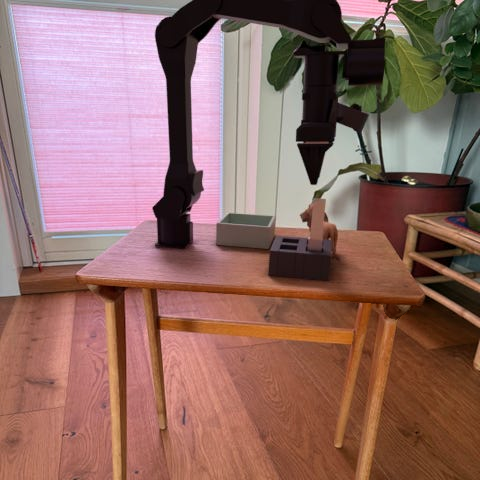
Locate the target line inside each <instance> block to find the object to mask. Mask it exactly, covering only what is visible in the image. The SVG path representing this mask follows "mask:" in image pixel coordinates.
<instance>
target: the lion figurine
mask: <svg viewBox="0 0 480 480" xmlns="http://www.w3.org/2000/svg"><path fill="white" fill-rule="evenodd" d="M312 211H313V203H309V204H308V207H307V208H306V209H305V210H304V211H303V212H301V213H300V214H299V217H300V219H301V222H302V223H306V226H307V227H308V229H309V232H310V231H311V221H312ZM322 237H323V239H326V240H332V258H334V259H335V261H337V262H341V258H340V257H339V256H338V254H337V244H338V238H339V231H338V228H337V225H336V224H335V223H332V222H329V217H328V214H327V213H326V212H325V214H324V222H323V231H322Z"/></svg>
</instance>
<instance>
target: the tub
mask: <svg viewBox="0 0 480 480" xmlns="http://www.w3.org/2000/svg"><path fill="white" fill-rule="evenodd" d="M276 220H277V215H268V214H257V213H256V214H255V213H240V212H226V213H225V214H224V215H223V216H222V217H221V218H220V219H219V220H218V221H217V222H216V233H215V236H216V237H215V239H216V240H215V241H216V242H215V244H216V246H227V247H238V248H240V247H241V248H251V249H264V250H270V248H271V246H272V243H273V241H274V239H275V237H276V234H275V233H276Z"/></svg>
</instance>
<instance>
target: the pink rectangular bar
mask: <svg viewBox="0 0 480 480" xmlns="http://www.w3.org/2000/svg"><path fill="white" fill-rule="evenodd" d="M312 204H313V211H312V221H311V231H310V230H309V236H308V238H309V239H308V249H307V251H310V252H321V250H322V242H323V237H322V231H323V222H324V214H325V213H326V205H327V198H321V197H320V198H317V197H314V198H313V203H312Z"/></svg>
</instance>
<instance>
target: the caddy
mask: <svg viewBox="0 0 480 480" xmlns="http://www.w3.org/2000/svg"><path fill="white" fill-rule="evenodd" d="M308 239H309V237H301V236H299V237H298V236H287V235H275V237H274V239H273V241H272V244H271V246H270V248H269V259H268V273H267V275H268V276H272V277H283V278H284V277H285V278H293V279H303V280H315V281H326V282H328V281H330V276H331V268H332V259H333V257H332V240H331V239H328V240H326V239H323V242H322V250H321V252H310V251H307V249H308Z"/></svg>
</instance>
